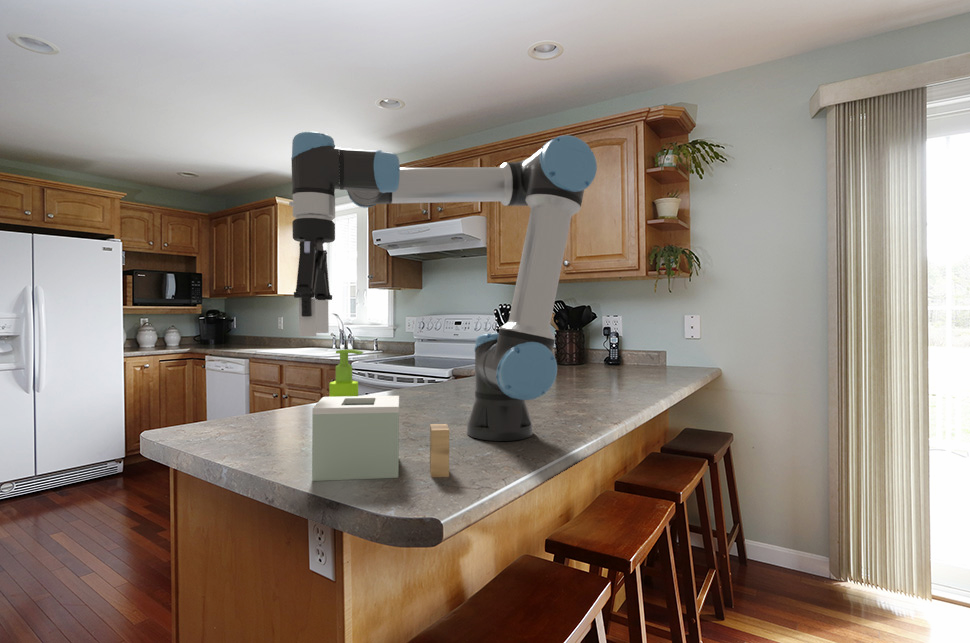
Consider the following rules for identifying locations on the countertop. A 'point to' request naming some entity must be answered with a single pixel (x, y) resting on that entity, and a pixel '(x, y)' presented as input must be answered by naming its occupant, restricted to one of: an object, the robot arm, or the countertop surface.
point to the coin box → (355, 438)
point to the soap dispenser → (344, 377)
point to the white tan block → (439, 450)
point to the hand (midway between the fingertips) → (315, 334)
